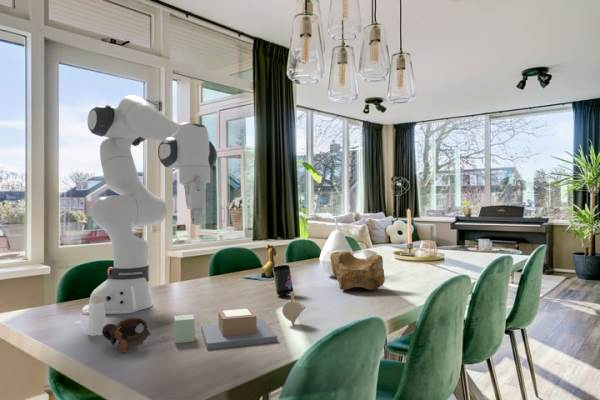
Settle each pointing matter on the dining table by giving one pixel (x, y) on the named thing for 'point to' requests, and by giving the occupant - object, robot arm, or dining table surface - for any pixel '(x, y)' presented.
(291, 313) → the decorative ornament
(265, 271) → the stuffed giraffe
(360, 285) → the rough brown rock
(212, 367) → the dining table surface
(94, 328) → the pepper shaker
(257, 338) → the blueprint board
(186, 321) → the sage block
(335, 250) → the pear ornament
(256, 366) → the dining table surface
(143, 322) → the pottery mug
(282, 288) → the supplement container
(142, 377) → the dining table surface
